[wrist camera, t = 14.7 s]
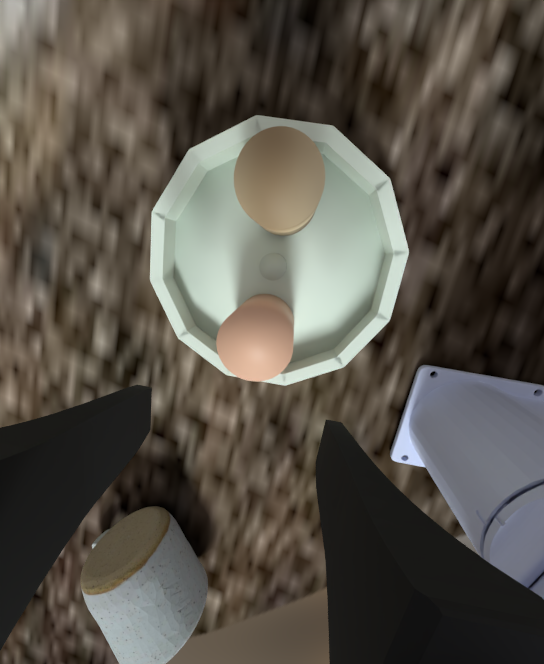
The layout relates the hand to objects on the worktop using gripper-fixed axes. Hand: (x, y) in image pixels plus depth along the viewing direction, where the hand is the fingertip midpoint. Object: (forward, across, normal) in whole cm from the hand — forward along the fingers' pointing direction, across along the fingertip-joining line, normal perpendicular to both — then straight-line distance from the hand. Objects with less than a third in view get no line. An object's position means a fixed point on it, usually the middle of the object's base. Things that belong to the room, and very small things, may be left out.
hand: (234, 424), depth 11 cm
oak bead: (+9, 0, -10) cm, 13 cm away
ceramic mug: (+10, +7, +21) cm, 24 cm away
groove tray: (+9, 0, -6) cm, 11 cm away
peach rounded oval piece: (+9, 0, -2) cm, 9 cm away
